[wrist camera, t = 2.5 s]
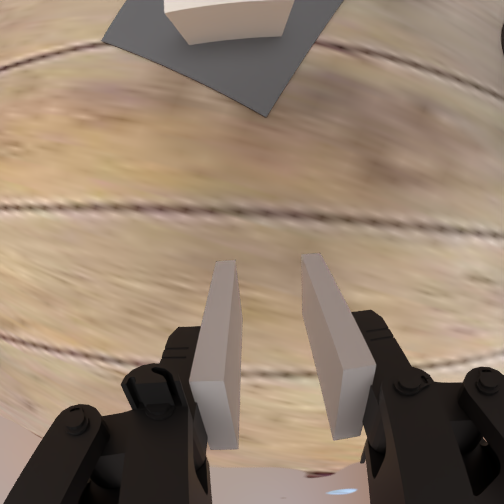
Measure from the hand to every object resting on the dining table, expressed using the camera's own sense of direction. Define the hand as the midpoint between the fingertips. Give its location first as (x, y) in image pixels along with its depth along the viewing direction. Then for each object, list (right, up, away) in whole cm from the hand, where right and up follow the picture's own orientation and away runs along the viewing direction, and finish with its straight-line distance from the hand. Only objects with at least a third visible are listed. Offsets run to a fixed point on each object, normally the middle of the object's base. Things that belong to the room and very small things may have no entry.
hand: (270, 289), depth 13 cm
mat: (-4, +29, +15) cm, 33 cm away
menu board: (-3, +25, +16) cm, 30 cm away
